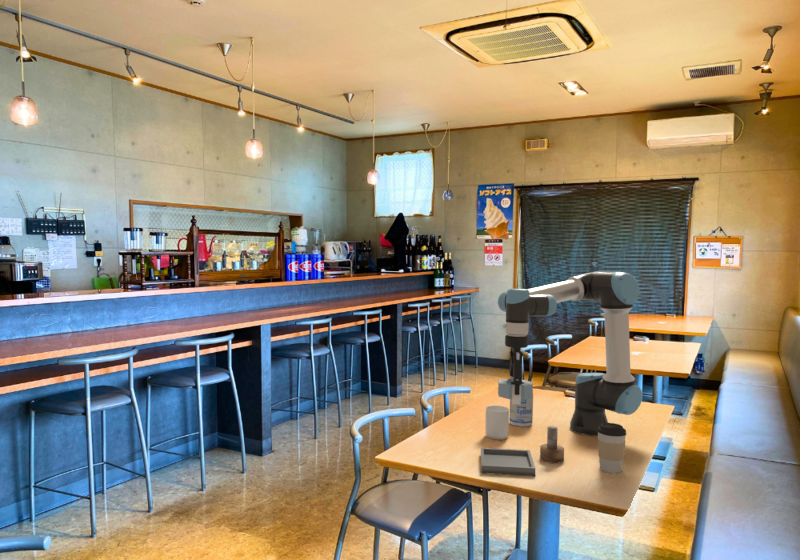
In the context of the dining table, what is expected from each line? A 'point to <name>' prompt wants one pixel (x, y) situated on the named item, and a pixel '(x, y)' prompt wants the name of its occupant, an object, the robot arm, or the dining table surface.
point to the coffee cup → (611, 447)
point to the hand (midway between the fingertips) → (514, 399)
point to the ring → (506, 387)
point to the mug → (497, 422)
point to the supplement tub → (521, 413)
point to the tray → (507, 461)
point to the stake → (552, 447)
